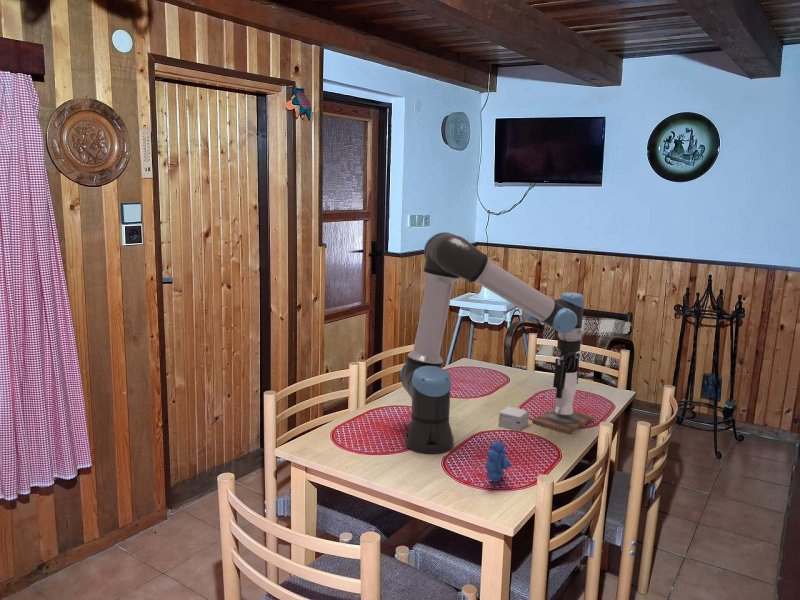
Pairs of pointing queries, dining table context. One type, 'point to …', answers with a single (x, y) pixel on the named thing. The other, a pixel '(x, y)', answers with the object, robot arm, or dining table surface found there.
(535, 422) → the walnut board
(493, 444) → the grapes
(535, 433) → the dining table surface
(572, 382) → the beer glass
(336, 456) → the dining table surface
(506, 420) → the small box
